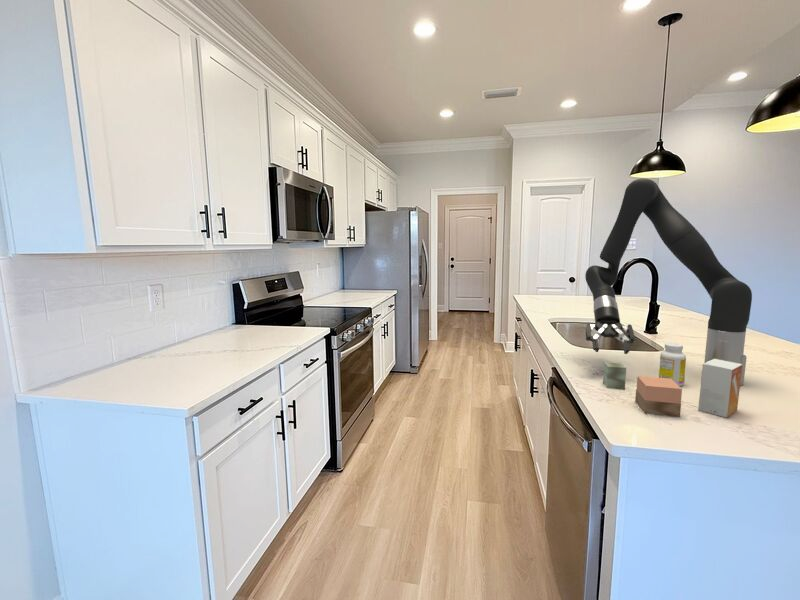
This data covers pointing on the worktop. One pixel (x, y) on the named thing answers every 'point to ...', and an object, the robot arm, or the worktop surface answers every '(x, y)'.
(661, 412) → the tower base block
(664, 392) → the tower top block
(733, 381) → the small box
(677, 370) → the supplement bottle
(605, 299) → the robot arm
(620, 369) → the green block
